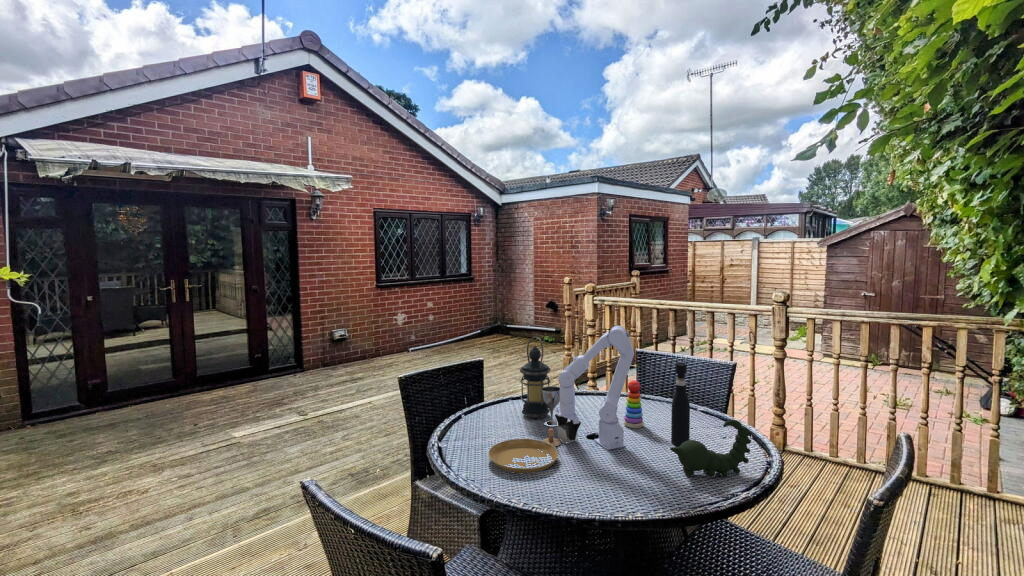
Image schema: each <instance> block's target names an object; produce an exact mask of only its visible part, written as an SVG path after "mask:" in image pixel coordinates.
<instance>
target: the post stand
mask: <svg viewBox="0 0 1024 576" xmlns="http://www.w3.org/2000/svg"><path fill="white" fill-rule="evenodd" d="M541 441H543V442H546V443H548V444H551V445H552V446H554V447H555V448H557V447H556V446H558V447H560V446H561V440H560V439H559V438H555V437H554V428H548V437H547V438H544V439H542V440H541ZM559 445H560V446H559Z"/></svg>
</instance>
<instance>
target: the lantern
mask: <svg viewBox="0 0 1024 576" xmlns="http://www.w3.org/2000/svg"><path fill="white" fill-rule="evenodd" d="M534 339H538V340H539V343H540V346H541V351H540V349H539V348H538V347H537V346H536V345H535V346H533V347H532V348H531V349H530V350H529V348H530V347H529V346H530V343H531V341H532V340H534ZM526 345H527V346H526V356H527V363H525V364H524V365H523V366H521V367H520V369H519V373H521V374H522V376H521V379H520V381H519V382H520V383H521V396H520V400H521V401H522V402H524V403H523V405H522V406H523V407H522V411H521V413H522V415H524V416H526V417H527V418H533V419H539V418H545V417H546V416H547V415H548V414H549V413H550V410H549V408H548V407H547V405H546V404H545V403H544V401H543V396H542V388H543V387H545V385H547V386H550V383H551V379H550V377H549V376H548V374H549V373H550V372H551V368H550V367H549V365H547V364H545V363H544V362H543V359H544V346H543V345H544V344H543V342H542V339H541V338H540V337H538V336H533V337H531V338H530V339H528V342H527V344H526ZM545 380H546V381H547V382H544V381H545ZM524 381H526V382H527V383H525V382H524ZM524 385H525V386H526V389H527V391H526V393H525V394H524V391H523V390H524V387H523V386H524ZM524 397H527V398H526V399H524Z"/></svg>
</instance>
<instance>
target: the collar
mask: <svg viewBox="0 0 1024 576" xmlns="http://www.w3.org/2000/svg"><path fill="white" fill-rule="evenodd" d="M557 439H558V440H560V439H561V440H562V441H563V442H564V443H563V442H562V441H561V440H560V441H561V442H562V443H563V444H567V443H566V442H570V443H572V442H571V441H575V442H578V441H577V440H578V433H577V434H576V438H575V440H570V439H569V433H568V428H567V425H566V424H564V425H558V426H557Z"/></svg>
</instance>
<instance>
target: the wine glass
mask: <svg viewBox="0 0 1024 576" xmlns="http://www.w3.org/2000/svg"><path fill="white" fill-rule="evenodd" d="M542 396H543V401H544V403H545V404H546V405H547V407H548V409H549V410H550V412H549V413H550V420H549V422H547V421H546V422H547V424H548V425H557V421H556V422H554V421H555V420H554V419H553V417H554V416H553V414H554V411H555V409H556V408H557V407H558V405H560V386H552V385H549V386H548V385H547V386H544V387H543V388H542Z"/></svg>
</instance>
